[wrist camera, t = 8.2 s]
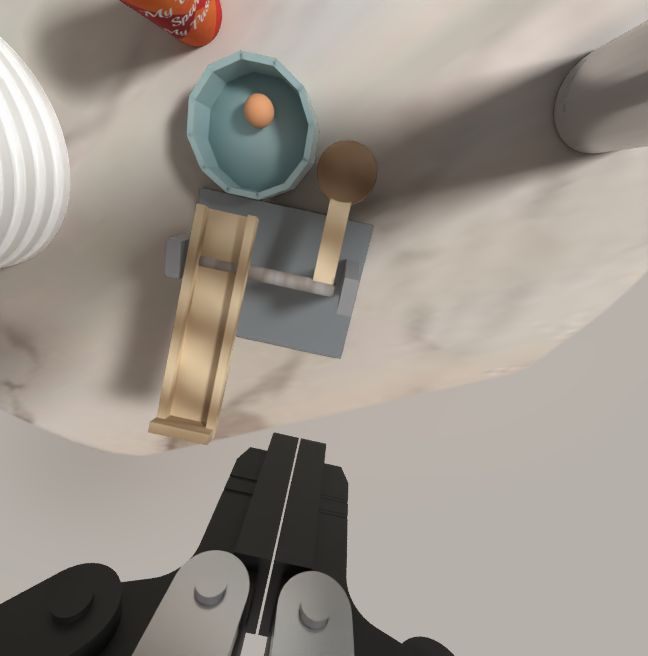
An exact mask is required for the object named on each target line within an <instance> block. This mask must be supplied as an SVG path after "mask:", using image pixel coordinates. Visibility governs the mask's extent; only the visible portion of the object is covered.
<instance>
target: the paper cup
mask: <svg viewBox="0 0 648 656" xmlns="http://www.w3.org/2000/svg"><path fill="white" fill-rule="evenodd" d="M120 1H121V2H123V3H124V4H126V5H127V6H129V7H130V8H132V9H133V10H135V11H137V12H138V13H140V14H141V15H143V16H144V17H146V18H147V19H149V20H150V21H152V22H153V23H155V24H156V25H158V26H159V27H161V28H162V29H164V30H165V31H167V32H168V33H170V34H171V35H173V36H174V37H176V38H177V39H179V40H180V41H182V42H184V43H186V44H188V45H191V46H204V45H206V44H208V43H210V42H211V41H212V40H213V39H214V38H215V37H216V35H217V33H218V32H219V29H220V26H221V21H222V10H221V4H220V1H219V0H120Z"/></svg>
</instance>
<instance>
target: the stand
mask: <svg viewBox="0 0 648 656" xmlns="http://www.w3.org/2000/svg"><path fill="white" fill-rule="evenodd" d="M198 204H202V205H205V206H207V207H208V208H209V209H214V210H218V211H223V212H227V213H232V214H236V215H241V216H246V217H248V215H252V216H256V217H257V218H258V219H259V222H258V227H257V232H256V237H255V242H254V247H253V252H252V257H251V262H250V265H254V266H259V267H263V268H268V269H273V270H277V271H282V272H286V273H291V274H295V275H300V276H304V277H309V278H313V277H314V272H315V268H316V263H317V259H318V254H319V249H320V245H321V240H322V235H323V231H324V226H325V221H326V217H327V215H323V214H319V213H314V212H310V211H305V210H301V209H296V208H292V207H287V206H283V205H278V204H273V203H269V202H264V201H260V200H255V199H251V198H246V197H242V196H237V195H233V194H228V193H224V192H219V191H214V190H210V189H205V188H199V202H198ZM372 230H373V225H369V224H364V223H360V222H355V221H351V220H347V224H346V229H345V234H344V238H343V243H342V247H341V252H340V256H339V261H338V265H337V270H336V274H335V279H334V283H336V284H335V289H334V293H333V298H332V297H328V296H323V295H319V294H314V293H310V292H305V291H301V290H296V289H291V288H287V287H282V286H278V285H273V284H269V283H264V282H260V281H255V280H251V279H247V282H246V287H245V292H244V297H243V302H242V307H241V312H240V317H239V322H238V326H237V331H236V336H239V337H243V338H248V339H252V340H257V341H261V342H266V343H270V344H275V345H279V346H284V347H288V348H293V349H298V350H302V351H307V352H311V353H316V354H320V355H325V356H329V357H334V358H338V359H341V356H342V352H343V348H344V343H345V339H346V335H347V331H348V327H349V323H350V319H351V315H352V311H353V307H354V303H355V299H356V295H357V291H358V287H359V283H360V279H361V275H362V271H363V267H364V263H365V259H366V255H367V251H368V246H369V242H370V238H371V234H372ZM190 236H191V232H188V233H184V234H180V235H176V236H173V237H169V238H166V253H165V276H167V277H172V278H176V279H180V278H182V277H183V274H184V268H185V263H186V258H187V252H188V247H189V241H190Z"/></svg>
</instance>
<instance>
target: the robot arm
mask: <svg viewBox="0 0 648 656" xmlns="http://www.w3.org/2000/svg"><path fill="white" fill-rule="evenodd" d="M554 118H555V125H556V128H557V131H558V134H559V135H560V137H561V138H562V140H563V141H564V142H565V143H566V144H567V145H568V146H569V147H570V148H572V149H574V150H576V151H578V152H583V153H603V152H610V151H617V150H624V149H631V148H638V147H645V146H648V20H647V21H645V22H644V23H642V24H640V25H638V26H637V27H635V28H633V29H631V30H630V31H628V32H626V33H624V34H623V35H621V36H619V37H617V38H615V39H614V40H612V41H610V42H609V43H607V44H605V45H603V46H602V47H600V48H598V49H596V50H595V51H593V52H591V53H590V54H588V55H587V56H586V57H584V58H583V59H581V60H580V61H579V62H578V63H577V64H576V65H575V66H574V67H573V68H572V69H571V71H570V72H569V73H568V75H567V76H566V78H565V79H564V81H563V83H562V85H561V87H560V89H559V91H558V95H557V98H556V102H555V110H554ZM298 439H299V438H297V437H292V436H288V435H283V434H279V433H273V436H272V439H271V442H270V445H269V448H268V451H265V450H261V449H256V448H252V447H250V448H249V449H248V450H247V451H246V452H244V453H243V454H242V455H241V456H240V457H239V458H238V459H237V461H236V463H235V465H234V467H233V470H232V472H231V474H230V477H229V479H228V481H227V483H226V486H225V488H224V491H223V493H222V495H221V497H220V500H219V502H218V504H217V507H216V509H215V511H214V513H213V516H212V518H211V520H210V523H209V525H208V527H207V529H206V532H205V534H204V536H203V539H202V541H201V543H200V545H199V547H198V549H197V551H196V552H195V554H194V555H193V557H191V558H190V559H189V560H188V561H187V562H186V563H185V564H184V565H183V566H182V567H180V568H178V569H177V570H176V571H173V572H171V573H169V574H167V575H164V576H161V577H157V578H152V579H144V580H136V581H128V582H120V579H119V577H118V575H117V574H116V572H115V571H114V570H113V569H111V568H110V567H108V566H106V565H102V564H98V563H85V564H80V565H76V566H73V567H70V568H68V569H66V570H63V571H61V572H59V573H58V574H56V575H54V576H52V577H50V578H49V579H46V580H44V581H43V582H41V583H39V584H37V585H35V586H33V587H31V588H30V589H28V590H26V591H24V592H22V593H20V594H18V595H17V596H15V597H13V598H11V599H9V600H7V601H5V602H3V603H2V604H0V656H240V654H241V650H242V646H243V642H244V638H245V634H246V632H247V633H251V634H255V633H256V628H257V624H258V619H259V615H260V610H261V606H262V602H263V597H264V593H265V588H266V584H267V579H268V575H269V570H270V566H271V561H272V557H273V552H274V547H275V543H276V538H277V534H278V530H279V525H280V521H281V516H282V512H283V507H284V503H285V498H286V493H287V489H288V485H289V480H290V476H291V471H292V467H293V462H294V457H295V453H296V448H297V444H298ZM325 451H326V444H324V443H320V442H315V441H311V440H306V439H301V441H300V445H299V450H298V454H297V459H296V463H295V468H294V473H293V477H292V481H291V486H290V490H289V495H288V500H287V504H286V509H285V513H284V519H283V523H282V527H281V532H280V537H279V541H278V547H277V551H276V555H275V560H274V564H273V569H272V574H271V578H270V583H269V588H268V593H267V597H266V602H265V606H264V611H263V616H262V621H261V625H260V630H259V635H262V636H266V637H268V638H267V643H266V648H265V653H264V656H454V655H453V654H452V653H451V652H450V651H449V650H448V649H447V648H446V647H444V646H443V645H442V644H440V643H438V642H437V641H435V640H432V639H430V638H426V637H413V638H410V639H408V640H406V641H405V642H403V643H402V644H401V643H400V642H398V641H397V640H395V639H393V638H392V637H390V636H389V635H387V634H385V633H384V632H382V631H381V630H379V629H377V628H376V627H375V626H373V625H372V624H370V623H369V622H368V621H367V620H366V619H365V618H363V616H362V615H361V614H360V613H359V611H358V610H357V608H356V607H355V605H354V604H353V602H352V599H351V597H350V595H349V592H348V588H347V582H346V565H347V515H348V504H347V502H348V482H347V479H346V477H345V475H344V473H343V470H342V468H341V467H338V466H334V465H329V464H325V463H324V460H325Z"/></svg>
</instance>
